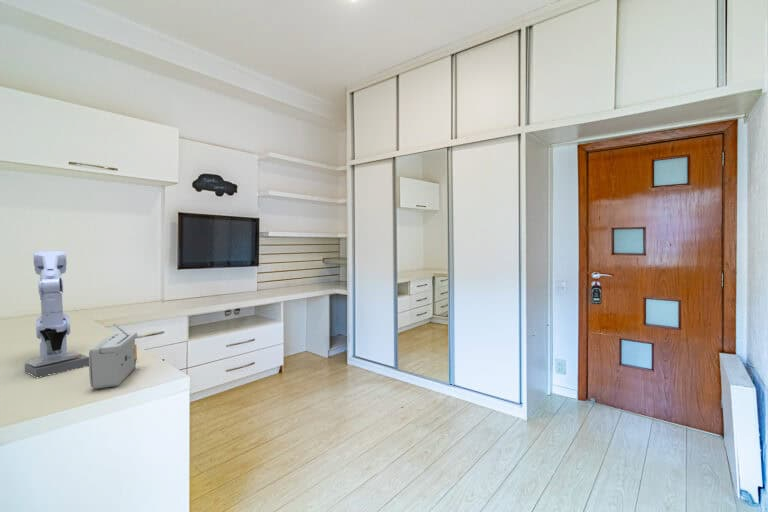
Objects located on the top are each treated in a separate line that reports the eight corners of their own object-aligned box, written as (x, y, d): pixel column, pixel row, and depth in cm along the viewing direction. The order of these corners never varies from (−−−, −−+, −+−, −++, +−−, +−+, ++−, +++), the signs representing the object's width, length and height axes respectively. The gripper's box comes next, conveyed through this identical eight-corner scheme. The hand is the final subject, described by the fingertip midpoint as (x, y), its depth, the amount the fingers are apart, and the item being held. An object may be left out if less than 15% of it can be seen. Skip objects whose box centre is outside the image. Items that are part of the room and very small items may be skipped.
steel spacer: (45, 353, 133) (44, 340, 133) (59, 351, 136) (58, 337, 136) (49, 355, 131) (48, 341, 131) (63, 352, 134) (62, 338, 134)
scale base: (24, 372, 132) (24, 362, 132) (76, 360, 145) (76, 351, 144) (36, 378, 126) (36, 368, 125) (90, 365, 138) (89, 356, 138)
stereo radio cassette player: (112, 369, 133) (110, 314, 132) (139, 366, 136) (137, 312, 135) (88, 391, 113) (85, 326, 113) (120, 387, 116) (117, 324, 115)
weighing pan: (26, 363, 130) (26, 360, 130) (72, 353, 141) (72, 350, 141) (34, 366, 126) (34, 364, 126) (81, 356, 137) (81, 354, 137)
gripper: (30, 311, 134) (32, 349, 134) (45, 315, 126) (47, 355, 126) (55, 308, 140) (57, 344, 140) (71, 312, 132) (72, 350, 132)
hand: (54, 349), depth 134 cm, fingers closed on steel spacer, 4 cm apart
